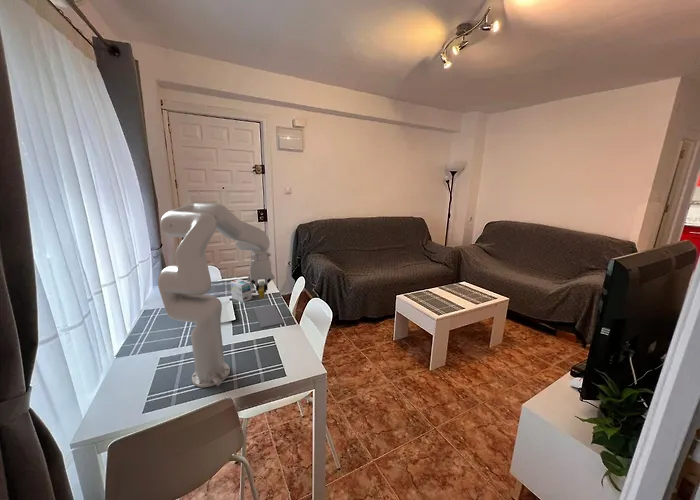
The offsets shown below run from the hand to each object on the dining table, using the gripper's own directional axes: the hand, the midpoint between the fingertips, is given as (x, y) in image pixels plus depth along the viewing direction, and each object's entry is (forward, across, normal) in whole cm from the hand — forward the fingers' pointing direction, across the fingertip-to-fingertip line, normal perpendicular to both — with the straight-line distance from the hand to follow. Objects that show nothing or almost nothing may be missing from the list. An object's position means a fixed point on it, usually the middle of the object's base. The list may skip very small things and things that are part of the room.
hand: (262, 291), depth 139 cm
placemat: (+16, -2, -4) cm, 16 cm away
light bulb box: (+16, +13, -30) cm, 36 cm away
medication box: (+1, 0, 0) cm, 1 cm away
